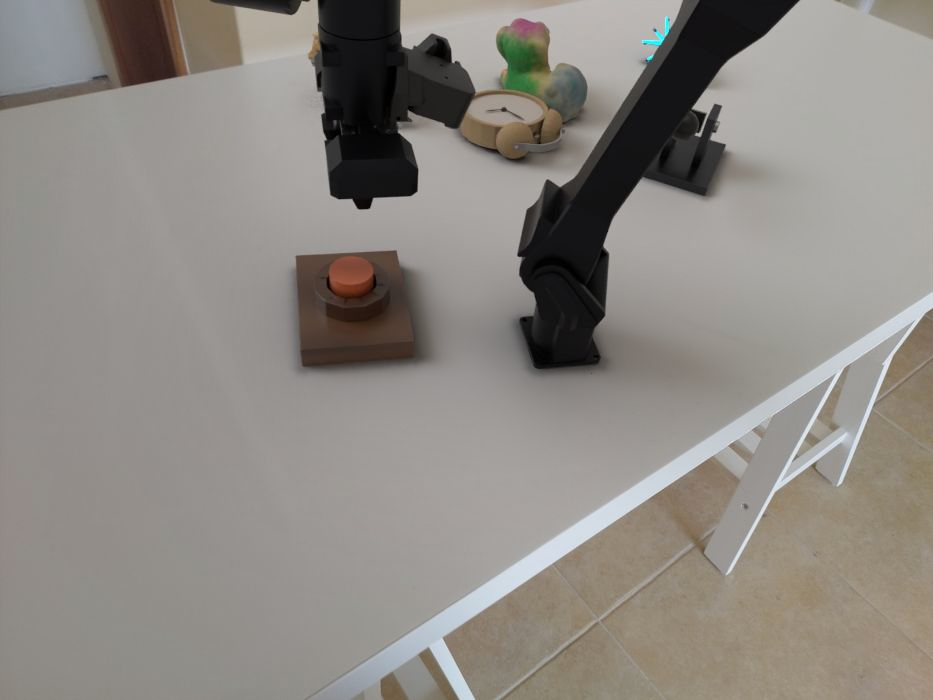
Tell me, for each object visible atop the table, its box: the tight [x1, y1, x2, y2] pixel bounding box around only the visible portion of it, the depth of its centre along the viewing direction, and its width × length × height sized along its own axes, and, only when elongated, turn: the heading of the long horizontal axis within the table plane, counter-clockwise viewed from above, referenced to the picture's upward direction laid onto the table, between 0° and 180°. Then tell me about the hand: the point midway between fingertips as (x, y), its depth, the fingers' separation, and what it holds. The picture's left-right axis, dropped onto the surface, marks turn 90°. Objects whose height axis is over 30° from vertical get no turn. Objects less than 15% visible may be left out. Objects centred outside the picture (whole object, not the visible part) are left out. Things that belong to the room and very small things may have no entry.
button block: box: [295, 249, 415, 367], centre depth 69 cm, size 13×10×4 cm
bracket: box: [642, 103, 727, 197], centre depth 92 cm, size 12×9×8 cm
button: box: [329, 256, 374, 299], centre depth 67 cm, size 4×4×2 cm
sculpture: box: [495, 17, 588, 124], centre depth 100 cm, size 15×8×10 cm, turn 46°
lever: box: [672, 108, 708, 141], centre depth 85 cm, size 17×3×3 cm, turn 155°
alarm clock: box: [459, 88, 566, 160], centre depth 94 cm, size 11×5×15 cm
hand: (363, 207), depth 63 cm, fingers closed
